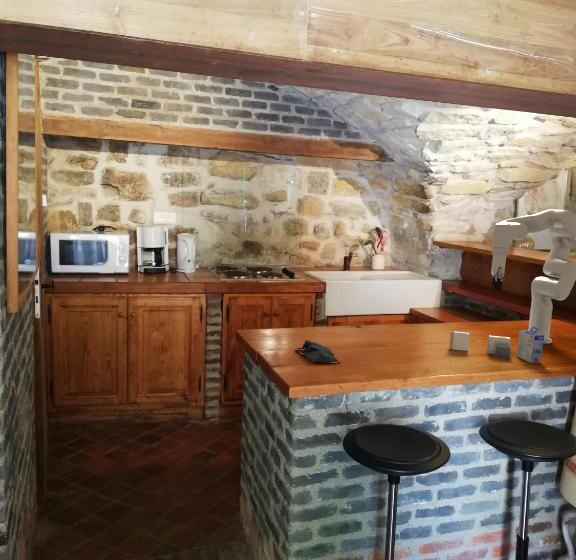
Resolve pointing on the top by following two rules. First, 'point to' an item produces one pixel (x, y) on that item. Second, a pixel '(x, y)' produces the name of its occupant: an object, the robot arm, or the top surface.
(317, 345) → the dark fabric pouch
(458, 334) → the grey flat block
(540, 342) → the ink cartridge box
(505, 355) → the ticket holder
